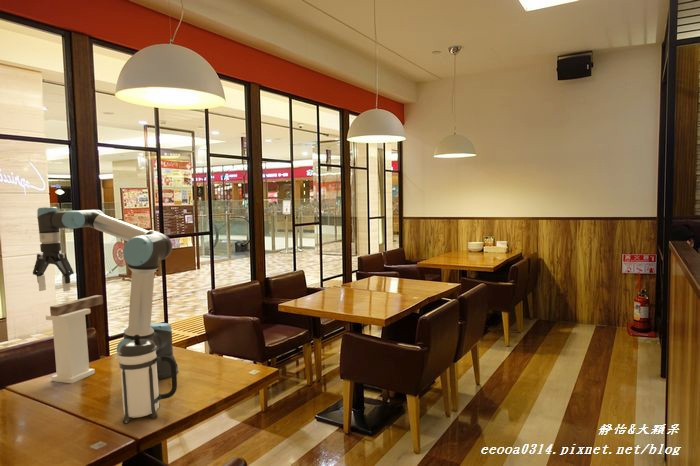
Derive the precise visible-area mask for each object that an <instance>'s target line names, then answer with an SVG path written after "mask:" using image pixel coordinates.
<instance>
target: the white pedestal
mask: <svg viewBox="0 0 700 466" xmlns="http://www.w3.org/2000/svg"><path fill="white" fill-rule="evenodd" d="M91 312H92V311H91V308H85V309H82V310H78V311H74V312H71V313H67V314H64V315H60V316H51V313H50V314H46V315H45V320H46V321H51V322H52V331H53V332H52V333H53V334H52V335H53V345H54V356H55V357H54V358H55V370H56V374H54V375H52V376H50V377H51V378H50V379H51V382H59V383H66V384H75V383H76V382H79V381H81V380H83V379H85V378H87V377H89V376H90V377H91V376H92V375H94V374H96V370H95V368H90V362H89V361H90V359H89V348H88V334H87V321H86V315H89V314H91Z"/></svg>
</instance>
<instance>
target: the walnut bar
mask: <svg viewBox="0 0 700 466" xmlns="http://www.w3.org/2000/svg"><path fill="white" fill-rule="evenodd" d="M103 304H104V296H103V295H101V294H100V295H99V294H96V295H92V296H87V297H83V298H80V299H79V298H78V299H75V300H71V301H67V302H63V303H60V304H56V305H52V306H50V307H49V310H50V314H51V316H60V315H64V314H67V313H71V312H74V311H78V310H82V309H90V308H92V307H95V306H99V305H100V306H101V305H103Z"/></svg>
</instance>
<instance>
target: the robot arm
mask: <svg viewBox="0 0 700 466" xmlns="http://www.w3.org/2000/svg"><path fill="white" fill-rule="evenodd" d="M36 213H37V214H36V215H37V217H36V218H37V224H38V235H39V242H40V243H41V244H39V247H40V252H41V253H37V254H36V260H35V263H34V267H33V270H32V275H33V276H34V275H35V276H36V278H37V283H38V292H43V291H46V290H47V288H46V287H47V286H46V275H45V272H46V270H47V269H48V266H49V265H55V266H56V267H57V268H58V270H59V271H60V272H61V274H62V276H61V278H62V280H61V281H62V290H63V292H68V291H71V284H70V283H71V275H74V273H75V271H74V270H73V268H72V265H71V264H70V262H69V259H68V257H67V253H65V252H63V253H60V252H61V251H62V244H61V233H60V229H71V230H72V229H79V228H92V229H94V230H97V231H99V232H102V233H103V234H104V233H105V234H107V235H110V236H113V237H116V238H118V239H121V240H122V241H126V242H125V244H124V245H123V249H122V256H123V259H124V261H125V262H126V264H128V265H127V267H128V269H129V270H130V271H131V279H130V280H131V281H130V296H129V313H128V324H127V325H128V326H127V327H126V328H125V329H124V330H123V338H122V339H120V341H119V342H118V343H117V345H116V353H117V354H118V351H119V350H120V347H121V346H122V345H123V344H125V343H127V342H129V341H133V340H134V339H133V338H134V336H135V335H139V336H140V339H148V340H151V341H153V342H154V343H155V345H156V346H157V349H156V355H157V357H159V356H169V357H171V358H172V359H173V360H174V362H175V365H176V374H177V373H178V372H179V366H178V363H177V361H176V358H175V356H174V347H173V331H172V326H171V324H170V323H166V322H154V323H153V322H152V312H153V311H152V310H153V299H154V298H153V297H154V283H155V282H154V281H155V272H156V271H157V270H159V267H160V261H162V260H165V259H166V258H168V257H169V256H170V255H171V253H172V251H173V243H172V240H171V238H170V237H169V236H168V235H166V234H164V233H161V232H159V231H157V230H153V229H150V230H148V229H144V228H141V227H138V226H137V225H133V224H130V223H128V222H125V221H123V220H119V219H116V218H114V217H111V216H108V215H106V214H105V212H103V211H102V210H100V209H83V210H82V209H81V210H73V209H72V210H63V211H62V210H61V211H59V209H58V207H56V206H51V207H50V206H48V207H45V206H43V207H38V208H37V212H36ZM117 354H116V355H117ZM157 377H158V380H163V379H166V378H170V377H172V376H171V366H170V364H169V363H168V362H167V361H157Z"/></svg>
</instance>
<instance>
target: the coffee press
mask: <svg viewBox="0 0 700 466" xmlns="http://www.w3.org/2000/svg"><path fill="white" fill-rule="evenodd" d="M133 339H134V340H133V341H129V342H127V343H125V344H123V345H122V346H121V347H120V350H119V351H118V354H116V355H115V357H114V360H119V361H118V365H119V369H120V381H121V382H120V384H121V396H122V409H123V414H124V417H123V419H122V423H123V424H128V423H129V422H130V420H131V419H134V418H142V417H146V416H150V417H151V419H152V420H155V419H157V418H158V414H157V410H158V409H159V408H160V406H161V404H160V400H165V399H169V398H172V396H173V397H174V395H175V394H176V392H177V388H178V377H177V373H176V365H175V362H174V360H173V359H172V358H171V357H169V356H159V357H157V355H156V349H157V346H156V345H155V343H154V342H153V341H151V340H148V339H140V336H139V335H135V336H134V338H133ZM157 361H167V362H168V363H169V364H170V366H171V376H170V377H171V389H170V391H168V392H166V393H160V391H159V379H158V377H157Z"/></svg>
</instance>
